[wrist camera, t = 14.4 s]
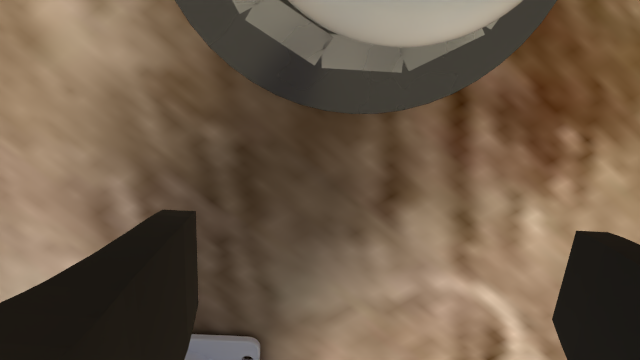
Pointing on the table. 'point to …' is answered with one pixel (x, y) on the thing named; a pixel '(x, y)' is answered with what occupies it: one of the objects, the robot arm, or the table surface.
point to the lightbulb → (404, 19)
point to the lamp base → (351, 55)
